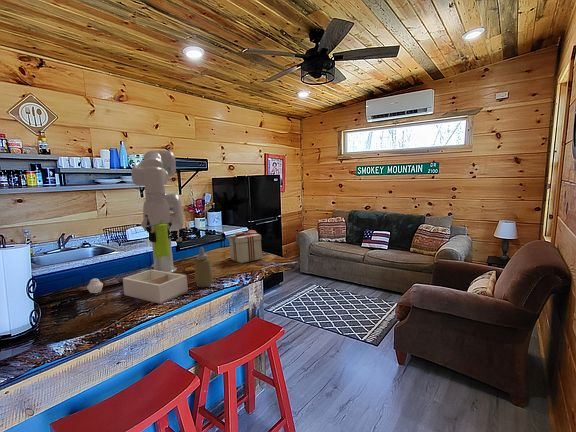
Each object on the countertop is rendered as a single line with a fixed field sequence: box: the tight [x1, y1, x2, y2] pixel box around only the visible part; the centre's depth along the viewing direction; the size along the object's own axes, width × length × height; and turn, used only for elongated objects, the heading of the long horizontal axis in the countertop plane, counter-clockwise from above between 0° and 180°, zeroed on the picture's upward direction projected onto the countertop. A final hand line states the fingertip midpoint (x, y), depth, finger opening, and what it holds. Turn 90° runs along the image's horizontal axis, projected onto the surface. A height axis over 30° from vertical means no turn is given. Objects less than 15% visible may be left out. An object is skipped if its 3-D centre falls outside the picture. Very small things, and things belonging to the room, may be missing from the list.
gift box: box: [225, 229, 263, 264], centre depth 184 cm, size 17×18×17 cm
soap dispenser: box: [153, 220, 170, 257], centre depth 127 cm, size 6×7×20 cm
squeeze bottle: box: [194, 246, 214, 288], centre depth 139 cm, size 8×8×18 cm
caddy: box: [122, 269, 189, 305], centre depth 133 cm, size 24×14×8 cm, turn 60°
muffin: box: [86, 278, 104, 294], centre depth 137 cm, size 6×6×7 cm
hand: (159, 240), depth 127 cm, fingers closed on soap dispenser, 5 cm apart
